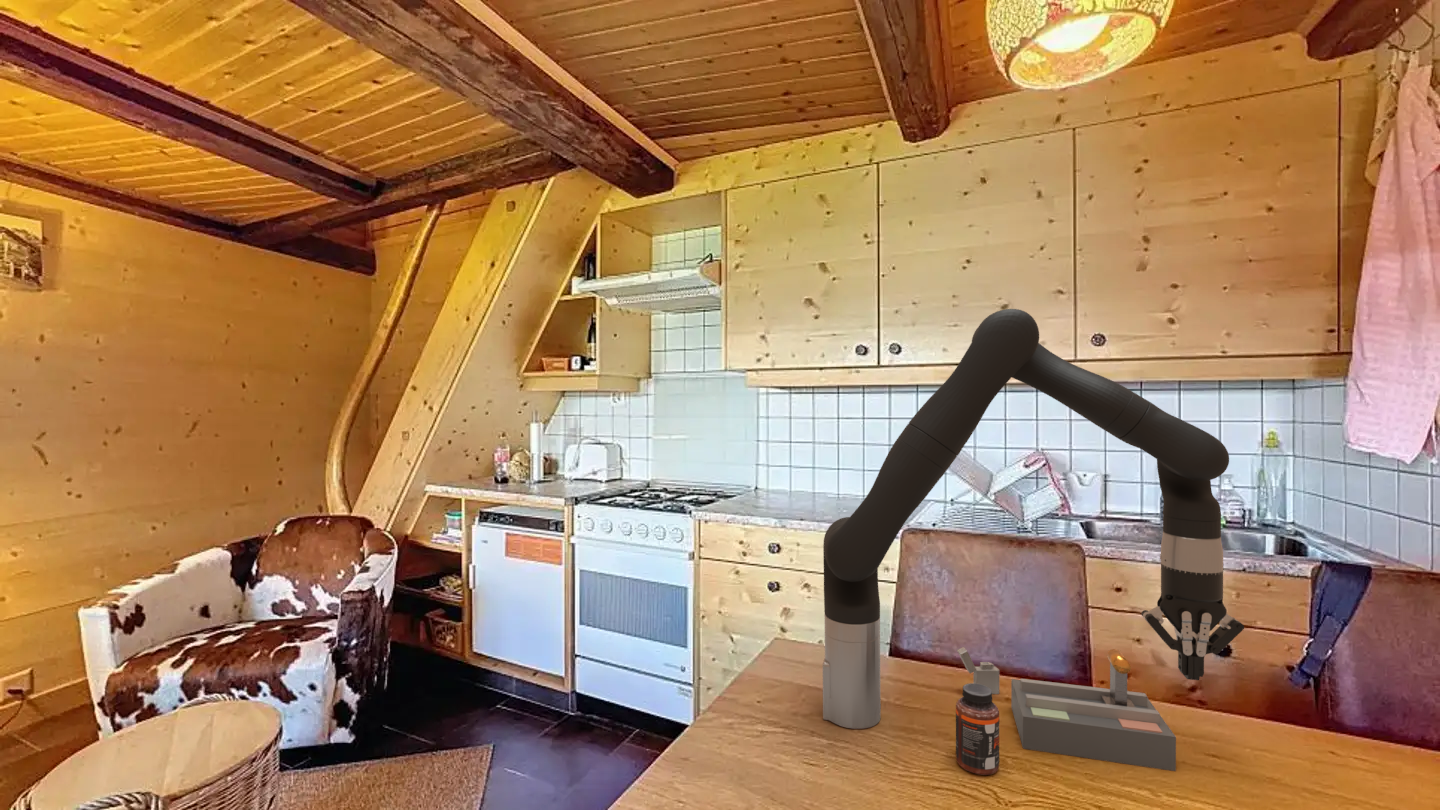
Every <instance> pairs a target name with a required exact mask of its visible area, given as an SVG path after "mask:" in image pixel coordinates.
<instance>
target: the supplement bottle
mask: <svg viewBox="0 0 1440 810" xmlns="http://www.w3.org/2000/svg"><path fill="white" fill-rule="evenodd" d="M961 694H962V695H961V697H960V698H959V699H958V700H957V701H956V703H955V759H956V762H957V763H958V765H959V766H960V767H961V768H962V769H964V770H965V771H967V772H969V773H972V774H975V775H983V776H989V775H994V774H995V773H996V772H997V771H998V770H999V768H1000V710H999V707H998V706H997V705H996V704H995V702H993V694H992V691H991V689H990V688H988V687H987V686H984V685H981V684H976V683H973V682H971V683H966V684H964V685H963V686H962V693H961Z"/></svg>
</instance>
